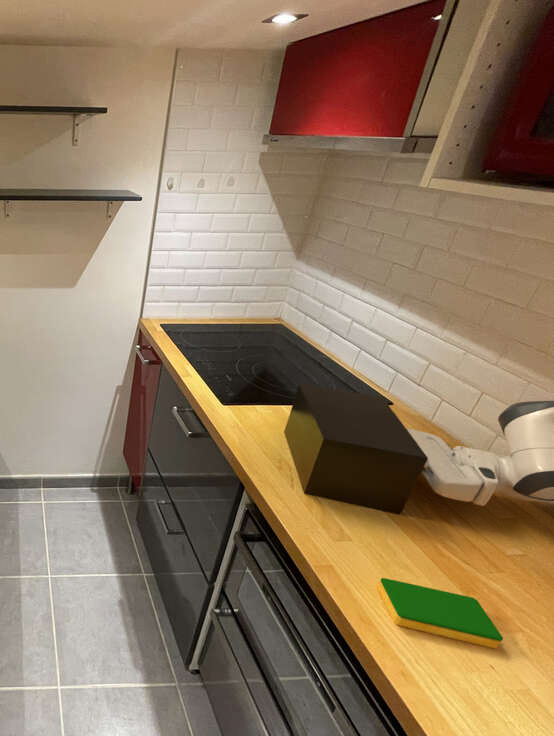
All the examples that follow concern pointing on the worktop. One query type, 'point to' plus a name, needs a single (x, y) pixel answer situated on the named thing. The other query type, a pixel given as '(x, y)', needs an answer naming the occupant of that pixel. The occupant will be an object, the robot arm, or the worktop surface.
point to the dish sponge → (438, 612)
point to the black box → (352, 449)
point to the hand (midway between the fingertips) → (392, 453)
